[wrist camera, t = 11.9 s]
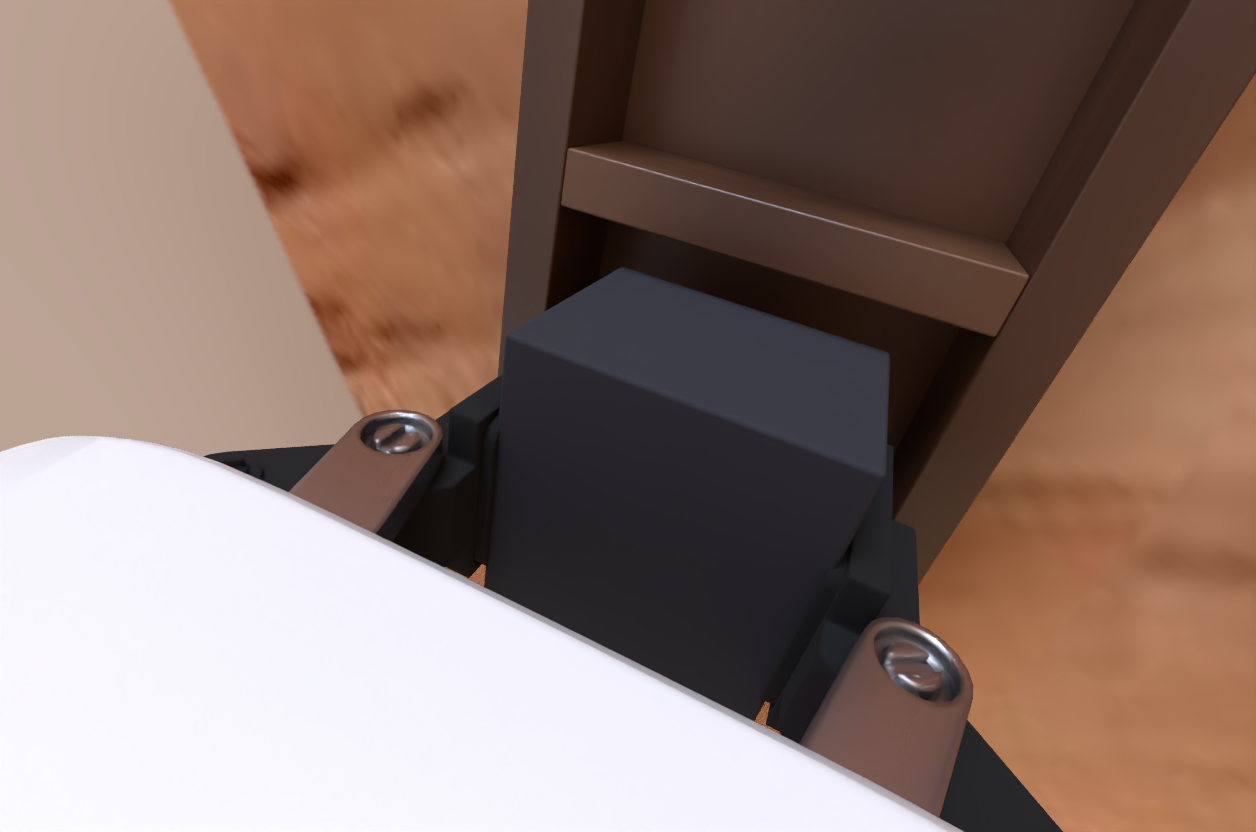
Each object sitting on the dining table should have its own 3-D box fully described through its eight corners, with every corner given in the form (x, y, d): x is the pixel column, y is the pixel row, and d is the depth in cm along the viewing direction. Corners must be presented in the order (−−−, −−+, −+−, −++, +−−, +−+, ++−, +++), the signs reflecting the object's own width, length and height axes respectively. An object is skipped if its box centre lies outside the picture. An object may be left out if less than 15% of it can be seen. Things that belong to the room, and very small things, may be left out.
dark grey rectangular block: (892, 352, 10) (888, 475, 7) (776, 593, 13) (736, 757, 10) (621, 264, 11) (503, 332, 8) (576, 505, 14) (478, 625, 11)
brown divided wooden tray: (1520, -536, 6) (1955, -984, 4) (854, 600, 16) (846, 695, 13) (683, -521, 8) (590, -791, 6) (543, 467, 18) (484, 527, 15)
